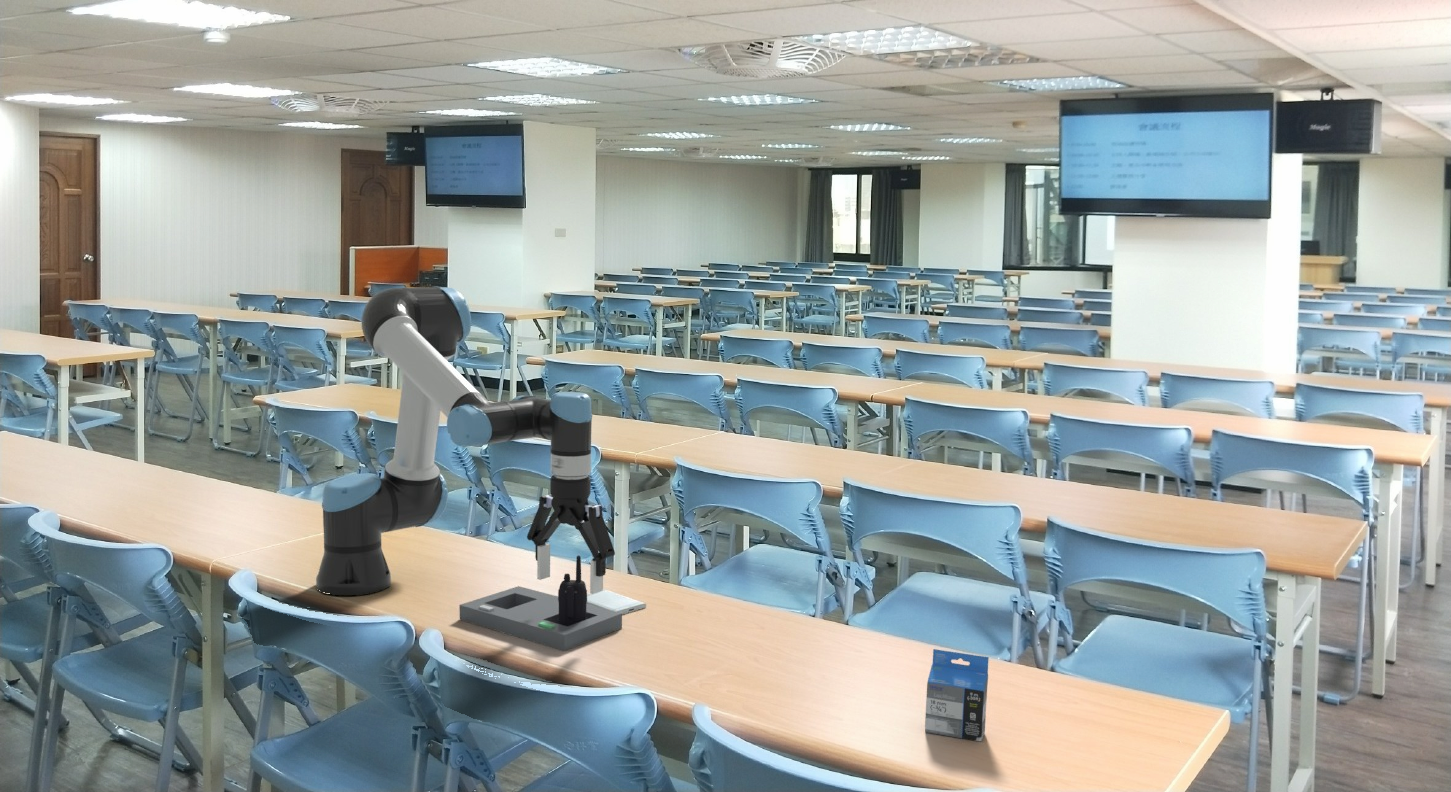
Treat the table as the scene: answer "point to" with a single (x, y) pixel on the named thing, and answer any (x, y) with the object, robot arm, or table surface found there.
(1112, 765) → the table surface
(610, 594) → the hard drive
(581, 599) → the two-way radio
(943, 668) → the label tape cartridge
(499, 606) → the charging base
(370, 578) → the robot arm
